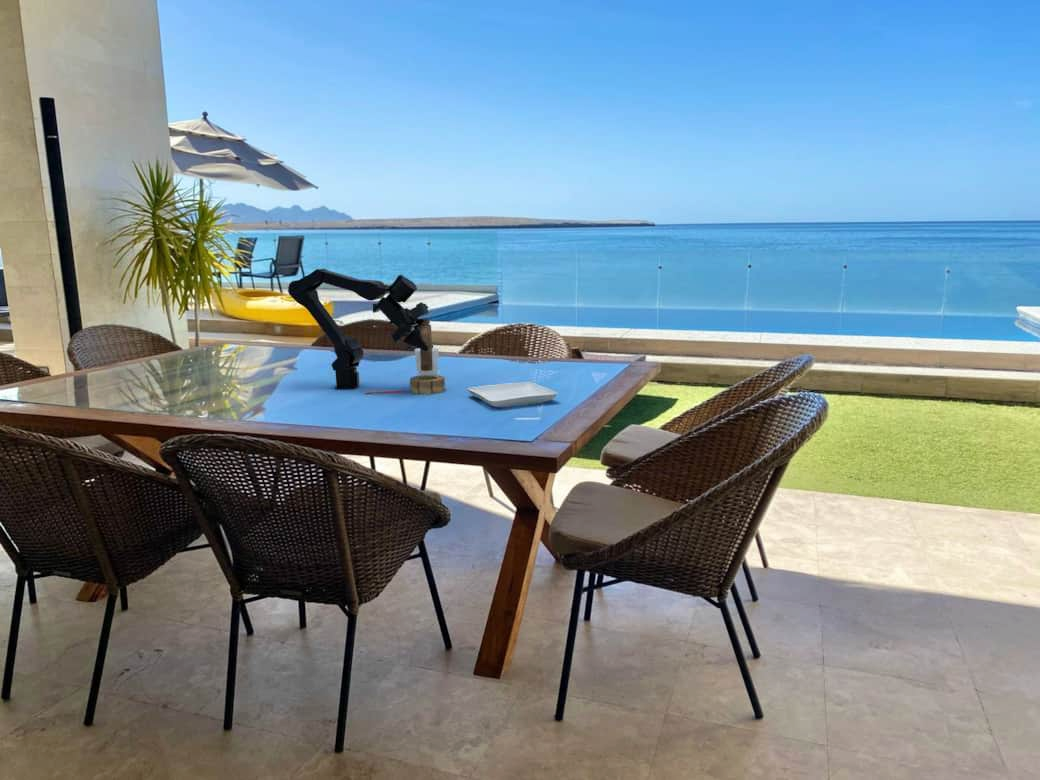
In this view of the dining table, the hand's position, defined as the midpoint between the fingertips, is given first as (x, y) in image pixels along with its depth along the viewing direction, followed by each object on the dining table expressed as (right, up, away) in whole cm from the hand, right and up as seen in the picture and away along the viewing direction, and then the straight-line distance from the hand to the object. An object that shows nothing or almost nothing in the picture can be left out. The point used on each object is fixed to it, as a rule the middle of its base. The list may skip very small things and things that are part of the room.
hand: (430, 349), depth 239 cm
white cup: (-3, -9, +23) cm, 25 cm away
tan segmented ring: (-1, -13, +3) cm, 13 cm away
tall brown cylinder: (-1, -6, +2) cm, 7 cm away
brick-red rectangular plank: (-14, -14, +1) cm, 20 cm away
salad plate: (+25, -16, -11) cm, 32 cm away
